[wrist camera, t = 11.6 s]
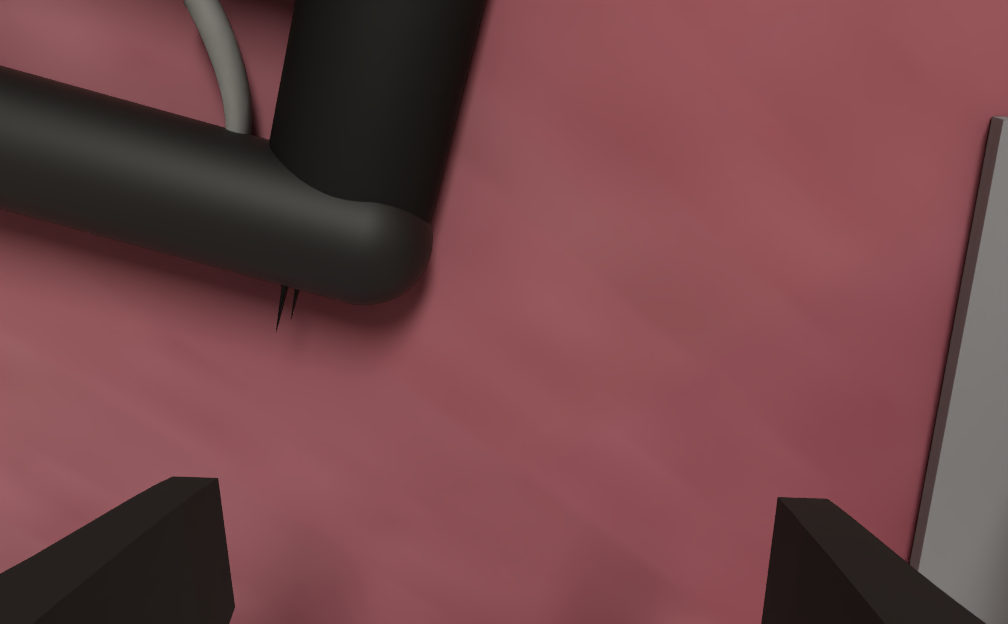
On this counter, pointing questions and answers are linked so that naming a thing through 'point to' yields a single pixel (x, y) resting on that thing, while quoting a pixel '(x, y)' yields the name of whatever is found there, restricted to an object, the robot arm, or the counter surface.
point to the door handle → (264, 151)
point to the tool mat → (974, 418)
